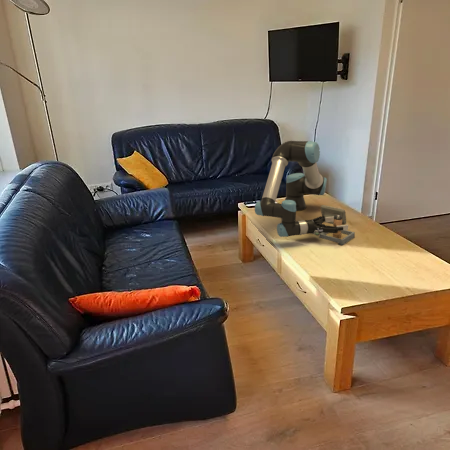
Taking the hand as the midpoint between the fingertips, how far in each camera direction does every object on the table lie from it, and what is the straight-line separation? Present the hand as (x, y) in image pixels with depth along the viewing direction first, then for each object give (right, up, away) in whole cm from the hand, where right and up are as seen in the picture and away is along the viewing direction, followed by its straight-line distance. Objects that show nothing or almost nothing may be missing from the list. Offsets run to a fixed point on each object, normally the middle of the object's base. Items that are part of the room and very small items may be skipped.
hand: (341, 222), depth 218 cm
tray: (-2, -9, +3) cm, 9 cm away
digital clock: (+2, 0, +25) cm, 25 cm away
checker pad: (-12, -5, +14) cm, 19 cm away
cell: (-2, -8, +3) cm, 8 cm away
